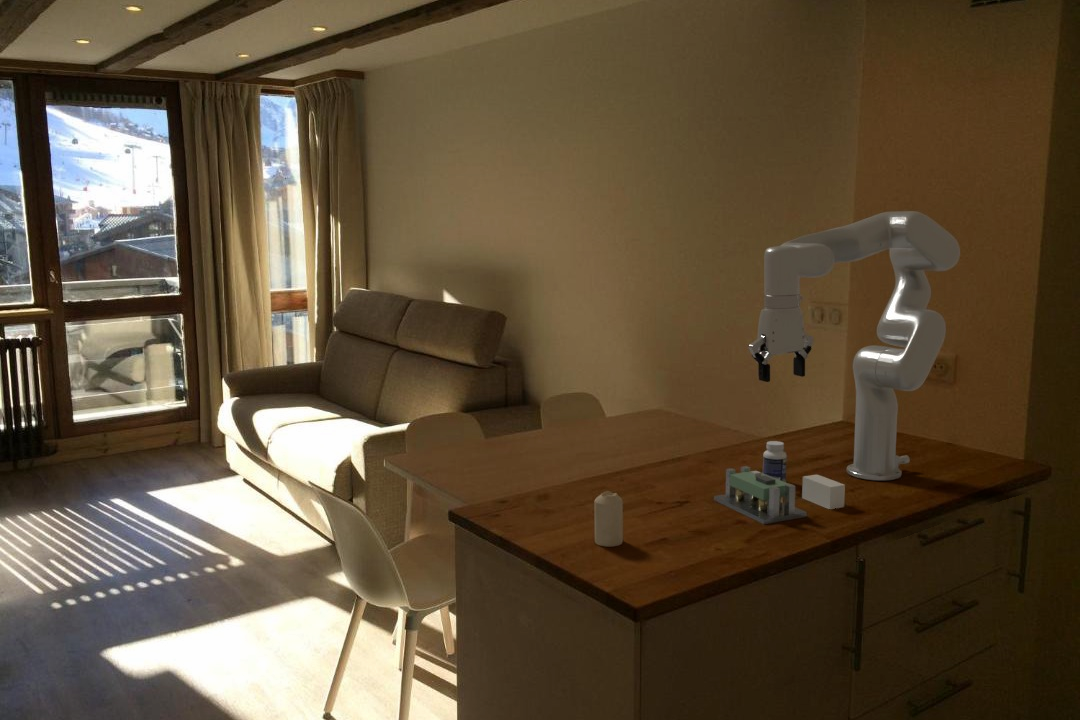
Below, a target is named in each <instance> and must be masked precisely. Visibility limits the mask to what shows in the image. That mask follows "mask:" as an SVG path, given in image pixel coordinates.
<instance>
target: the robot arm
mask: <svg viewBox="0 0 1080 720" xmlns="http://www.w3.org/2000/svg"><path fill="white" fill-rule="evenodd" d="M887 250H889V260H890V262H891V265H892V269H893V271H894V277H895V279H894V280H895V284H894V288H893V291H892V293H891V296H890V298H889V299H888V302H887V303H886V307H885V308H884V310H883V312H882V315H881V317H880V319H879V321H878V324H877V327H876V335H877V338H878V339H879V340H880V341H881V342H882V343H884V344H886V345H891V347H890V346H883V345H873V344H872V345H867V346H864V347H862V348H861V349H859V350H858V351H857V352H856V354H855V355H854V358H853V361H852V371H853V377H854V383H855V419H854V443H853V444H854V445H853V463H851V464H849V465H847V467H846V472H847V474H848V475H850V476H853V477H854V478H858V479H863V480H868V481H894V480H897V479H900V478H901V476H902V473H903V471H902V470H901V469H900V468H899V466H900V465H901V464H902V465H904V464H909V463H910V457H909V455H907V454H906V455H900V456H899V455H897V453H896V451H897V449H896V447H897V446H896V445H897V427H898V412H899V403H898V399H897V395H896V393H895V391H894V390H898V391H904V392H912V391H915V390H918V389H919V388H921V386H923V384H924V382H925V381H926V379H927V378H928V375H930V371H931V369H932V367H933V366H934V363H935V361H936V359H937V357H938V356H939V355H938V354H939V353H940V351H941V349H942V347H943V343H944V341H945V338H946V333H947V331H946V330H947V329H946V328H947V327H946V325H947V324H946V320H945V319H944V317H943V316H942V315H941V314H940V313H939V312H937V311H936V310H932V309H927V307H928V306H929V305H928V304H929V302H930V300H931V295H932V288H931V286H930V283H929V279H928V278H927V275H926V273H925V271H931V272H933V271H935V272H946V271H949V270H950V269H952V268H953V267H955V266H956V265H957V263H958V262H959V261H960V260H959V259H960V257H961V248H960V245H959V242H958V240H957V239H956V237H954V235H952V234H951V233H950V232H949V231H947V229H945V228H944V227H943V226H942V225H940V224H939V223H938V222H937V221H935V220H934V219H932V218H931V217H930V216H928V215H926V214H924V213H923V212H920V211H915V210H911V211H909V210H907V211H906V210H905V211H904V210H903V211H900V210H898V211H896V210H895V211H885V212H880V213H877V214H874V215H872V216H870V217H867V218H863V219H860V220H859V221H856V222H855V221H854V222H853V223H850V224H847V225H843V226H838V227H833V228H830V229H827V230H822V231H818V232H814V233H811V234H809V233H808V234H805V235H802V236H800V237H799V236H798V237H797V238H794V239H791V240H788V241H785V242H783V243H782V244H781V245H777V246H770V247H767V248H766V249H765V251H764V253H763V255H764V256H763V258H764V259H763V263H764V264H763V265H764V267H763V271H764V272H763V279H764V281H763V282H764V283H763V286H764V288H763V289H764V296H763V297H764V303H763V304H764V307H763V308H762V309H761V310H760V313H759V318H758V324H757V325H758V326H757V339H756V340H754V341H753V342H751V343H750V344H749V345H748V349H749V352H750V354H751V357H752V358H753V359H754V360H755V362H756V363H757V365H758V369H757V370H758V374H757V375H758V381H761V382H765V383H770V381H771V365H770V364H771V363H769V362H770V360H771V358H772V357H773V356H775V355H776V356H777V355H785V354H792V353H793V354H794V356H795V357H793V363H792V364H793V371H792V372H793V375H794V376H797V377H802V378H803V377H806V360H807V359H808V357H809V354H810V352H811V350H812V346H813V345H814V342H815V337H813V336H811V335H809V334H808V333H806V332H805V321H804V314H803V309H802V308H801V307H800V302H802V301H803V296H802V295H801V294H800V279H801V278H802V277H803V278H822V277H824V276H827V274H830V272H831V271H832V270H833V268H834V267H835V264H838V263H839V264H840V263H841V264H843V263H848V262H849V263H852V262H857V261H861V260H863V259H866V258H868V257H871V256H873V255H874V256H875V255H876V254H879V253H881V252H884V251H887ZM892 346H895V347H892ZM896 347H901V348H896ZM903 348H904V349H903Z"/></svg>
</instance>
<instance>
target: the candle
mask: <svg viewBox="0 0 1080 720" xmlns="http://www.w3.org/2000/svg"><path fill="white" fill-rule="evenodd" d="M593 502H594V503H593V504H594V506H593V507H594V542H595V544H597V545H598V546H600V547H610V548H612V547H617V546H620V545H622V544H623V541H624V539H623V535H624V532H623V529H624V527H623V525H624V524H623V523H624V519H623V516H624V515H623V511H624V510H623V509H624V508H623V507H624V506H623V505H624V504H623V502H624V501H623V499H622V497H620V496H619V495H618V493H617V492H614V493H613V492H612V491H610V490H606V491H603V492H602V493H601V494H600V495H598V496H597V497H596V498H595V499H594V501H593Z"/></svg>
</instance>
